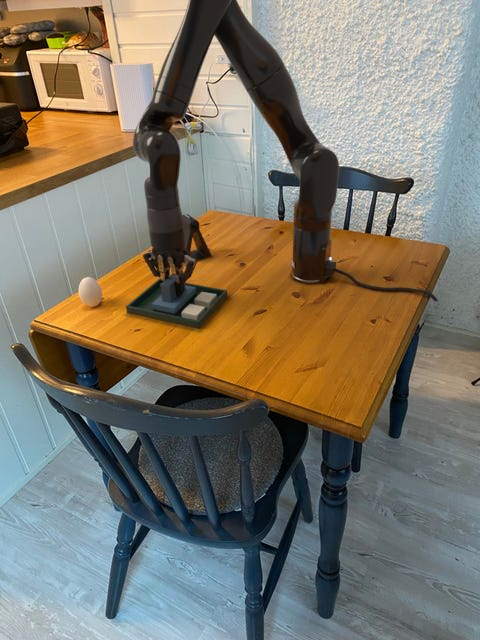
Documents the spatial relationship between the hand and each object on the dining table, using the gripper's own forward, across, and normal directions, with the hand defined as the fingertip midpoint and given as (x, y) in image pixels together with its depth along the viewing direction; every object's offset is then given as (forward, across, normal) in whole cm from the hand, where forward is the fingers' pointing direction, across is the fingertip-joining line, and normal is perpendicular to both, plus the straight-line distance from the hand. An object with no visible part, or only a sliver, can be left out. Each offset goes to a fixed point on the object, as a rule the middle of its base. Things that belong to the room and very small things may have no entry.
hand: (174, 293), depth 111 cm
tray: (+4, +1, 0) cm, 4 cm away
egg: (+4, -19, -7) cm, 21 cm away
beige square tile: (+3, +7, +3) cm, 8 cm away
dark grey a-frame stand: (+4, -9, +26) cm, 28 cm away
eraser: (+3, 0, 0) cm, 3 cm away
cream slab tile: (+3, +7, -3) cm, 8 cm away
